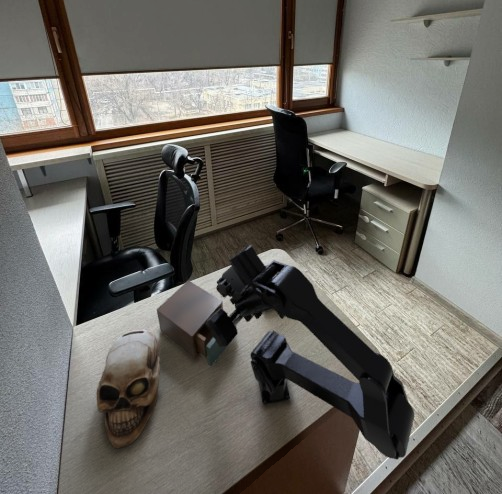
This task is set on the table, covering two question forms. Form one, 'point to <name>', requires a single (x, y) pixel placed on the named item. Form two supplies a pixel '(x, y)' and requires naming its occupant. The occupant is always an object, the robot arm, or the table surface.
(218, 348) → the drawer
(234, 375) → the table surface
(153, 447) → the table surface
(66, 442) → the table surface
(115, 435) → the coin bank
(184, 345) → the cabinet
